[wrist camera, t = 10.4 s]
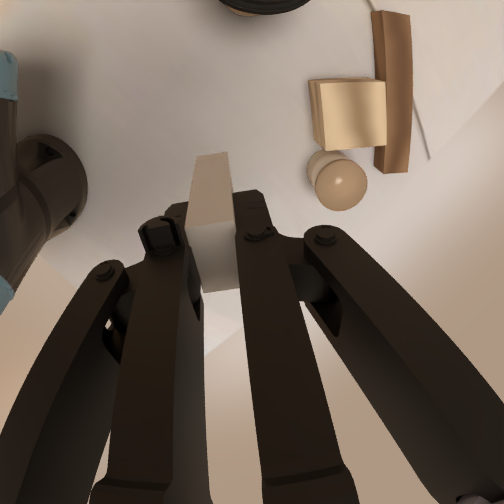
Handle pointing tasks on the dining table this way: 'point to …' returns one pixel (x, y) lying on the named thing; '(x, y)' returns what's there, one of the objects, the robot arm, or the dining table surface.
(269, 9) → the coffee cup
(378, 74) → the board
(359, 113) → the block
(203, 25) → the dining table surface
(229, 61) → the dining table surface
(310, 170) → the sugar pot
